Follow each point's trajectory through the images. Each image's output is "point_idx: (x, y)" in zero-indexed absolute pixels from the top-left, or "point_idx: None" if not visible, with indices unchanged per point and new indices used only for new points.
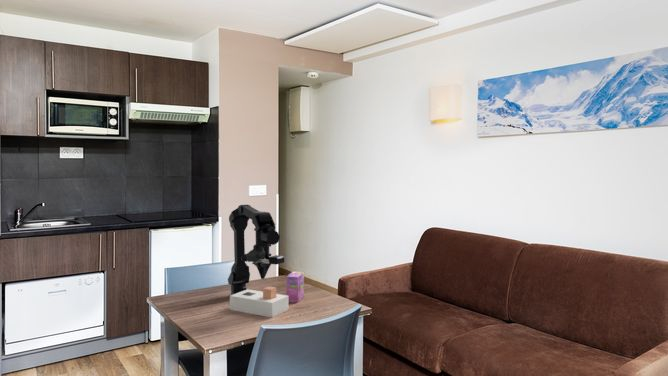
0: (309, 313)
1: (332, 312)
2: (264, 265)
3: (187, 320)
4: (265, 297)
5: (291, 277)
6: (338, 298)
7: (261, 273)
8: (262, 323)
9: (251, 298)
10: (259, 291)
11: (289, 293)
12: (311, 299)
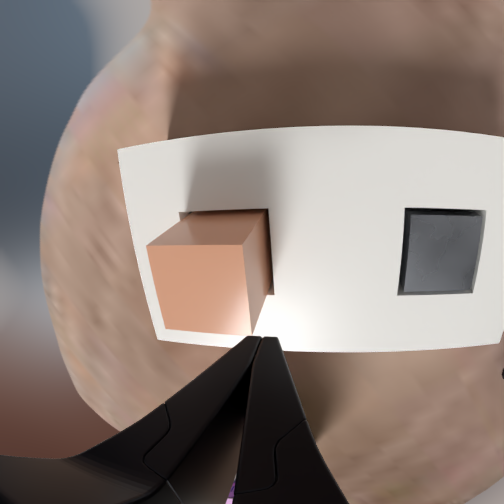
0: (92, 286)
1: (59, 326)
2: (3, 465)
3: None
4: (234, 217)
5: (230, 494)
6: None
7: (249, 394)
8: (149, 43)
9: (341, 148)
10: (402, 345)
11: None
12: None
